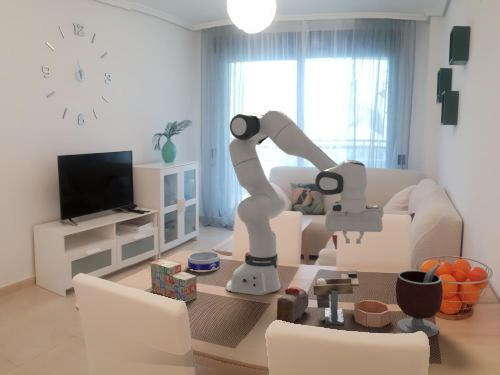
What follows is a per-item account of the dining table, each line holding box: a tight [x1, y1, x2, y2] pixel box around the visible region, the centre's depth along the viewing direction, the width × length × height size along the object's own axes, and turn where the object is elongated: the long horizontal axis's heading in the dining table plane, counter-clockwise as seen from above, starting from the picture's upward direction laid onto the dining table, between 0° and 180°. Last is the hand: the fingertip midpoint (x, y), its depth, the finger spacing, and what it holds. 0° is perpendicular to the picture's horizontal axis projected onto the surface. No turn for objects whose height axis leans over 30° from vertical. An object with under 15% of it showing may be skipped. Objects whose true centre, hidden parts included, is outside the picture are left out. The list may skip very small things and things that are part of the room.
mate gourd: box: [395, 263, 444, 338], centre depth 135 cm, size 16×14×20 cm
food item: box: [276, 286, 310, 323], centre depth 146 cm, size 14×8×10 cm, turn 153°
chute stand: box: [324, 289, 345, 326], centre depth 144 cm, size 6×11×11 cm, turn 170°
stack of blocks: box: [150, 258, 198, 302], centre depth 168 cm, size 21×6×12 cm, turn 48°
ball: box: [316, 277, 327, 285], centre depth 144 cm, size 4×4×4 cm
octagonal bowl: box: [353, 299, 391, 328], centre depth 142 cm, size 11×11×4 cm
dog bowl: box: [187, 251, 221, 270], centre depth 202 cm, size 15×15×6 cm
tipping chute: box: [312, 269, 360, 309], centre depth 149 cm, size 15×18×8 cm
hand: (352, 243), depth 153 cm, fingers open, 2 cm apart
